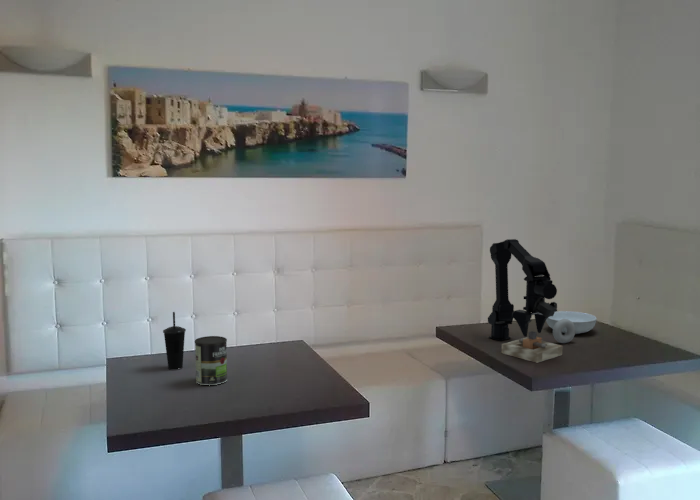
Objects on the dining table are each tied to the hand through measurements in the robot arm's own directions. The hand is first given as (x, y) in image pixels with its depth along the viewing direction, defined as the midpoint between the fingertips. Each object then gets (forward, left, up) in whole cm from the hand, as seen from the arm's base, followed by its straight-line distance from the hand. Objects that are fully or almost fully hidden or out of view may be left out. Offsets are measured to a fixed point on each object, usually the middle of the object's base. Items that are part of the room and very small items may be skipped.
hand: (532, 334), depth 249 cm
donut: (-1, +23, -8) cm, 24 cm away
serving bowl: (-10, +42, -8) cm, 44 cm away
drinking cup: (-69, -112, -8) cm, 132 cm away
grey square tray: (0, 0, -8) cm, 8 cm away
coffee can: (-48, -109, -8) cm, 119 cm away
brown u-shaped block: (0, 0, -6) cm, 6 cm away
